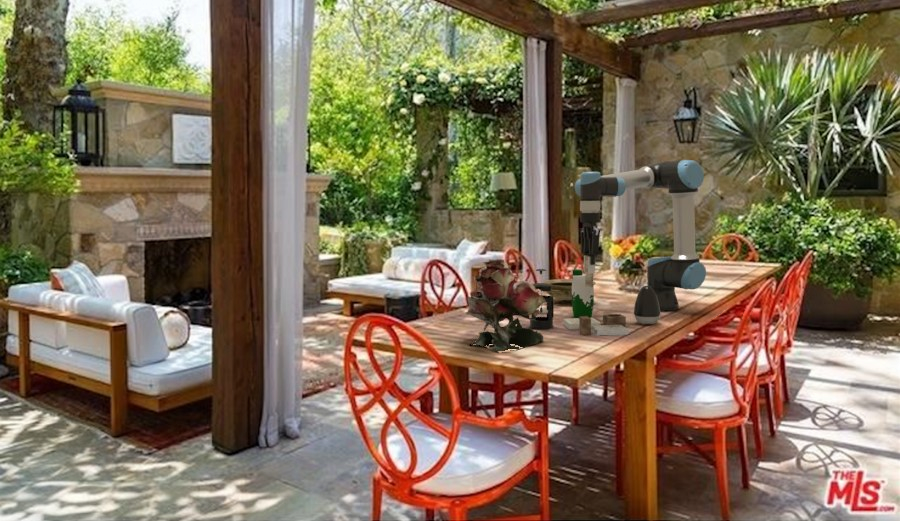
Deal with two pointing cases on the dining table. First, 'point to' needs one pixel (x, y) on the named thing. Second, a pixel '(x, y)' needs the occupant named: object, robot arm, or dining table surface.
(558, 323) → the dining table surface
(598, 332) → the plate
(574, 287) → the milk carton
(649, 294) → the pump dispenser
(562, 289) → the ceramic bowl
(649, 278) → the robot arm
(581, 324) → the wooden block
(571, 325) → the tray
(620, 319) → the socket block
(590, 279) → the dowel
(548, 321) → the french press
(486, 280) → the rose bouquet
